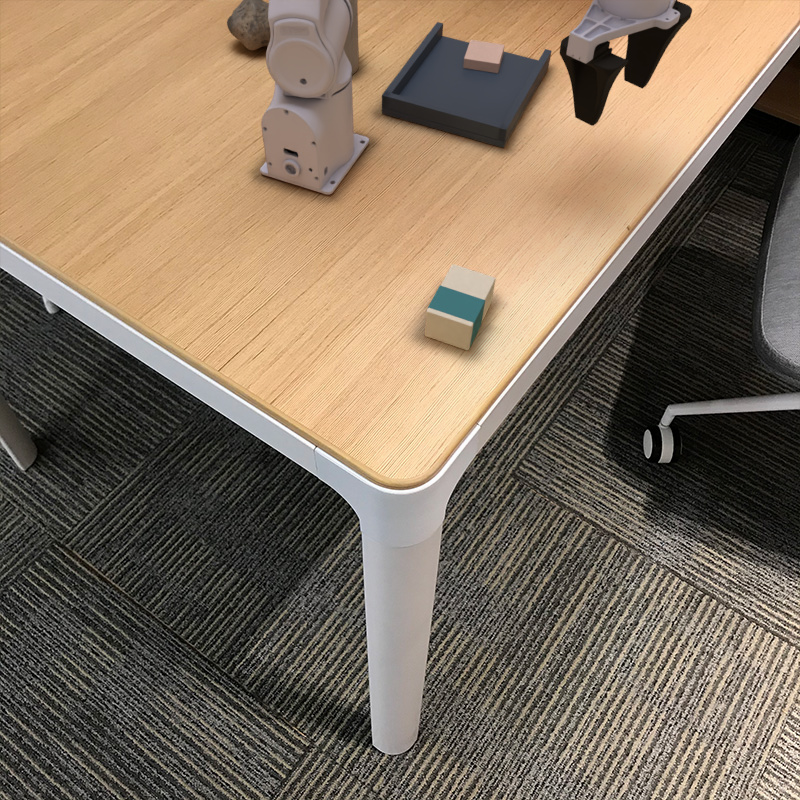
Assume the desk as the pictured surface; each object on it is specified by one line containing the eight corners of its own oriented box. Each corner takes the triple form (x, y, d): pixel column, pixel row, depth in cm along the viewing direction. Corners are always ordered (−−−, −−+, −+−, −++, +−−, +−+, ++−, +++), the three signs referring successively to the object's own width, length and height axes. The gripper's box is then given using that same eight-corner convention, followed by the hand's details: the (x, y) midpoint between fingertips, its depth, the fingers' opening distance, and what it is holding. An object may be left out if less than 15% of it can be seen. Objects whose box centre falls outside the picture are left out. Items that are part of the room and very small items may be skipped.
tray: (503, 148, 80) (506, 129, 78) (381, 113, 83) (381, 94, 81) (548, 69, 89) (551, 50, 87) (435, 40, 92) (437, 21, 90)
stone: (328, 42, 92) (291, -21, 90) (333, 28, 87) (294, -40, 85) (258, 84, 92) (220, 21, 90) (259, 73, 86) (218, 6, 84)
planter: (314, 59, 89) (307, -33, 80) (351, 52, 90) (348, -39, 81) (326, 81, 86) (320, -11, 78) (364, 74, 87) (362, -18, 79)
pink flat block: (497, 73, 87) (499, 63, 86) (463, 68, 87) (464, 58, 86) (503, 54, 89) (504, 44, 88) (469, 49, 89) (470, 39, 88)
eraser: (492, 303, 68) (496, 277, 65) (468, 351, 65) (472, 326, 62) (448, 288, 69) (451, 262, 66) (423, 336, 65) (425, 310, 63)
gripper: (635, -3, 55) (600, 156, 66) (741, -74, 60) (692, 83, 71) (556, -35, 58) (535, 123, 69) (664, -100, 63) (629, 55, 74)
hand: (611, 101), depth 70 cm, fingers open, 7 cm apart
